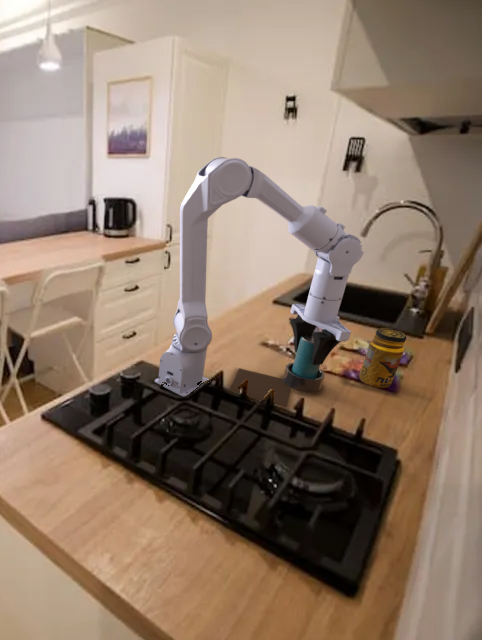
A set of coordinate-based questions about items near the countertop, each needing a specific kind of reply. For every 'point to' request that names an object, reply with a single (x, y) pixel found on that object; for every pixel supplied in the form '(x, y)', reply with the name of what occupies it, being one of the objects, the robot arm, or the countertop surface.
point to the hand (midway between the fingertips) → (308, 357)
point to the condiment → (383, 358)
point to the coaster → (261, 386)
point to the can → (305, 358)
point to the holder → (303, 380)
